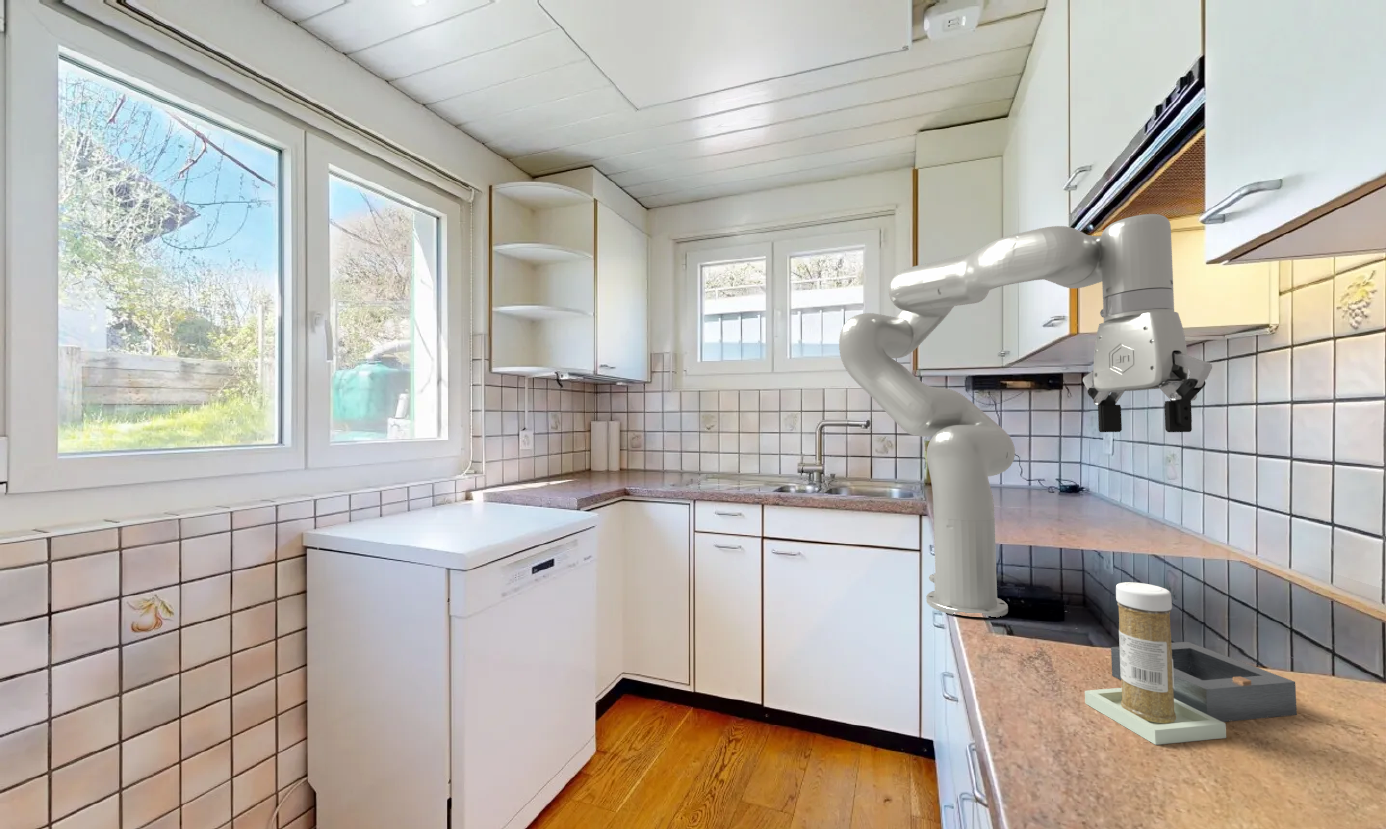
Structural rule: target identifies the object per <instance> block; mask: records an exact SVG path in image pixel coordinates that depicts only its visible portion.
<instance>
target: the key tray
mask: <svg viewBox="0 0 1386 829" xmlns="http://www.w3.org/2000/svg"><path fill="white" fill-rule="evenodd" d="M1121 701H1122V687H1116V688H1115V687H1113V688H1100V689H1092V690H1091V689H1088V690H1084V704H1086V705H1087V706H1089V707H1090V708H1092V709H1094V710H1096V711H1097V712H1099V713H1100V714H1102V715H1104V716H1106V717H1108V718H1109V719H1111V720H1112V721H1114V722H1116V723H1117V724H1119V725H1121V726H1123V727H1124V728H1126V729H1128V730H1130V731H1131V732H1133V733H1135V734H1136V735H1138V736H1139V737H1141V738H1143V739H1145V740H1146V741H1148V742H1151V743H1152V744H1154V745H1167V744H1168V745H1169V744H1176V743H1177V744H1178V743H1189V742H1198V741H1207V740H1208V741H1209V740H1217V739H1227V729H1226V728H1227V725H1226V723H1227V722H1221V721H1219V720H1217V719H1215V718H1213V717H1211V716H1209V715H1207V714H1205V713H1203V712H1201V711H1199V710H1197V709H1195V708H1193V707H1191V706H1188V705H1186V704H1184V703H1182V702H1180V701H1178V700H1176V699H1174V711H1175V714H1176V720H1175V721H1174V722H1172V723H1165V724H1163V723H1155V722H1150V721H1146V720H1144V719H1142V718H1140V717H1139V716H1137V715H1135V714H1133V713H1131V712H1130V711H1128V710H1126V709H1124V708H1122V706H1121Z"/></svg>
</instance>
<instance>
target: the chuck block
mask: <svg viewBox="0 0 1386 829" xmlns="http://www.w3.org/2000/svg"><path fill="white" fill-rule="evenodd" d="M1171 646H1172V649H1171V650H1172V659H1173V669H1174V689H1173V693H1174V699H1176V700H1178V701H1180V702H1182V703H1184V704H1186V705H1188V706H1191V707H1193V708H1195V709H1197V710H1199V711H1201V712H1203V713H1205V714H1207V715H1209V716H1211V717H1213V718H1215V719H1217V720H1219V721H1221V722H1224V723H1228V722H1236V721H1245V720H1259V719H1267V718H1268V719H1270V718H1277V717H1278V718H1279V717H1280V718H1281V717H1289V716H1297V715H1298V714H1297V710H1298V709H1297V694H1296V693H1297V691H1296V690H1297V689H1296V686H1297V685H1296V681H1294V680H1291V679H1289V678H1285V677H1283V676H1281V675H1277V674H1276V673H1273V672H1270V671H1267V670H1265V669H1262V668H1259V667H1256V666H1254V665H1251V664H1249V663H1246V662H1243V661H1240V660H1238V659H1235V658H1233V657H1231V656H1227V655H1225V654H1222V653H1219V652H1217V651H1214V650H1211V649H1208V648H1206V647H1202V646H1201V645H1198V644H1194V643H1192V642H1189V641H1182V642H1181V641H1178V642H1177V641H1176V642H1171ZM1110 655H1111V657H1110V658H1111V660H1110V661H1111V676H1112V677H1114V678H1116V679H1118V680H1120V681H1122V680H1121V673H1120V646H1112V647H1110Z"/></svg>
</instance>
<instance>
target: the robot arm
mask: <svg viewBox="0 0 1386 829" xmlns="http://www.w3.org/2000/svg"><path fill="white" fill-rule="evenodd" d="M1172 245H1173V243H1172V227H1171V222H1170V220H1169V219H1168V218H1167V217H1166V216H1165V215H1162V214H1158V213H1157V214H1156V213H1146V214H1145V213H1144V214H1137V215H1134V216H1130V217H1125V218H1122V219H1119V220H1117V221H1115V222H1112V223H1111V224H1109V225H1108V226H1106V227H1105V228H1104V230H1103V231H1102V233H1101V235H1096V236H1095V235H1088V234H1086V233H1085V232H1082V231H1080V230H1078V229H1076V228H1073V227H1070V226H1064V225H1055V226H1054V225H1053V226H1046V227H1042V228H1041V227H1040V228H1037V229H1031V230H1028V231H1024V232H1019V233H1015V234H1011V235H1007V236H1004V237H1000V238H998V239H995V240H993V241H991V242H990V243H987V244H985V245H984V246H982V247H980V248H978V249H976V250H975V251H974V252H972V253H968V254H967V253H966V254H963V255H959V256H953V257H950V258H946V259H941V260H936V261H931V262H928V263H924V264H919V265H914V266H911V267H907V268H904V269H902V270H901V271H899V272H897V273H896V274H895V275H894V276H893V277H892V279H891V281H890V282H889V286H888V294H889V295H888V296H889V298H890V301H891V303H892V304H893V305H894V306H895V307H896V308H898V309H899V310H900V312H898V313H897V315H896V316H891V315H885V314H879V313H874V312H872V313H871V312H870V313H869V312H868V313H867V312H866V313H860V314H856V315H854V316H852V317H850V318H849V319H847V321H846V322H845V323H844V324H843V327H842V328H841V331H840V333H839V340H838V342H839V343H838V350H839V355H840V360H841V362H842V364H843V367H844V368H845V370H846V371H847V373H848V374H849V376H850V377H851V379H853V380H854V381H855V382H856V383H857V384H858V386H860V388H862V389H863V390H864V391H865V392H866V393H867V394H868V395H869V396H870V397H871V398H872V399H873V400H874V401H875V402H876V404H877V405H878V406H879V407H880V408H881V409H882V410H883V411H884V412H885V413H886V414H887V415H888V416H889V417H890V418H891V419H892V420H893V421H894V422H895V423H896V424H897V425H898V426H899V428H901V429H902V430H903V431H904V432H906V433H907V434H908V435H911V436H915V437H923V438H924V437H931V439H930V440H929V442H928V444H927V445H928V446H927V447H926V461H927V468H928V472H929V477H930V483H931V492H932V506H933V507H932V510H933V527H934V528H933V534H934V535H933V536H934V571H935V572H934V573H933V574H930V575H929V576H928V579H929V581H930V582H931V583H934V590H933V591H930V592H928V593H927V594H926V595H925V596H926V598H925V599H926V603H927V605H929V607H931V608H932V609H934V610H936V611H939V612H942V613H945V614H947V615H948V614H949V615H953V613H954V612H965V613H983V614H985V615H987V616H991V617H996V618H1001V617H1003V616H1006V615H1007V614H1008V612H1009V606H1008V604H1007V603H1006V602H1005V601H1004V600H1002V599H1001V598H998V590H997V589H998V588H997V586H998V585H997V584H998V583H997V579H998V578H997V551H996V549H997V548H996V519H995V518H996V517H995V504H994V502H995V501H994V496H993V492H992V488H991V484H990V480H989V477H992V476H998V475H1000V474H1002V473H1004V472H1006V471H1007V470H1008V469H1009V468H1011V466H1012V464H1013V462H1014V461H1015V455H1016V448H1015V445H1014V442H1013V439H1012V438H1011V437H1010V435H1009V434H1008V433H1007V432H1006V430H1004V428H1002V427H1001V426H1000V425H999V424H998V423H997V422H996V421H994V420H993V419H992V417H990V416H988V415H987V414H986V413H985V411H983V410H982V409H981V408H979V407H978V406H977V405H976V404H975V403H973V402H972V401H971V400H970V399H968V398H967V397H966V396H965V395H963V394H961V393H960V392H958V391H956V390H954V389H950V388H946V387H935V386H931V385H927V384H926V383H924V382H922V381H921V380H920V379H919V378H917V377H916V376H915V375H913V373H911V371H910V370H909V369H908V368H907V367H905V366H904V365H903V364H902V363H900V362H898V361H897V360H896V359H902V358H904V357H906V356H908V355H910V354H911V353H913V352H914V351H915V350H916V349H917V348H918V347H919V346H920V345H921V344H923V342H924V341H925V340H926V339H927V338H928V337H929V336H930V335H931V333H932V332H933V331H934V330H936V328H937V327H938V326H940V324H941V323H942V322H943V321H944V320H945V319H946V317H947V316H948V315H949V314H950V313H951V311H952V310H953V308H954V307H956V306H965V305H973V304H978V303H980V302H983V300H985V299H986V298H987V296H988V294H989V292H990V291H991V290H994V289H998V288H1000V287H1004V286H1009V285H1014V284H1015V285H1016V284H1019V283H1026V282H1027V283H1028V282H1033V281H1039V280H1040V281H1041V280H1044V281H1048V282H1051V283H1053V284H1056V285H1058V286H1060V287H1063V288H1067V289H1081V288H1085V287H1086V288H1087V287H1089V286H1093V285H1095V284H1099V283H1101V284H1102V309H1101V310H1100V312H1099V314H1100V317H1101V318H1103V322H1102V323H1099V325H1098V328H1097V332H1096V336H1095V343H1094V352H1093V370H1092V371H1090V372H1089V373H1088V374H1086V375H1084V376H1083V378H1082V382H1083V384H1084V387H1085V388H1086V390H1087V394H1088V396H1089V397H1090V398H1091V399H1092V400H1093V404H1094V405H1095V406H1097V415H1098V417H1097V419H1098V422H1097V423H1098V431H1099V433H1120V432H1121V431H1122V430H1123V426H1122V425H1123V423H1122V407H1121V404H1117V402H1119V401H1120V399H1121V397H1123V396H1122V395H1123V394H1124V393H1125V392H1133V391H1147V390H1159V389H1160V390H1161V391H1162V393H1163V394H1164V395H1165V396H1166V397H1167V398H1168V399H1169V400H1167V401H1164V403H1163V404H1164V405H1163V406H1164V409H1163V410H1164V428H1165V431H1166V432H1167V433H1191V432H1192V430H1193V426H1192V425H1193V423H1192V422H1193V418H1192V402H1193V401H1196V400H1197V398H1198V394H1199V392H1201V390H1202V389H1203V388H1205V386H1206V384H1207V382H1206V380H1208V378H1209V375H1210V373H1211V371H1212V370H1213V364H1212V363H1210V362H1207V361H1205V360H1202V359H1199V358H1195V356H1194V357H1193V356H1190V355H1189V354H1188V349H1187V347H1188V346H1187V342H1186V336H1185V331H1184V328H1183V324H1182V321H1181V318H1180V315H1179V312H1177V311H1175V299H1174V298H1175V297H1174V274H1173V272H1174V271H1173V270H1174V269H1173V249H1172ZM953 616H954V615H953ZM1000 616H1001V617H1000Z"/></svg>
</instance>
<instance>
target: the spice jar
mask: <svg viewBox="0 0 1386 829" xmlns="http://www.w3.org/2000/svg"><path fill="white" fill-rule="evenodd" d="M1115 598H1116V599H1115V600H1116V602H1117V603H1116V604H1117V606H1118V618H1119V619H1118V622H1119V623H1118V638H1119V641H1118V642H1119V644H1118V645H1119V647H1120V673H1121V680H1120V681H1121V688H1122V701H1121V706H1122V708H1124V709H1126V710H1128V711H1130V712H1131V713H1133V714H1135V715H1137V716H1139V717H1140V718H1142V719H1144V720H1146V721H1150V722H1155V723H1163V724H1165V723H1172V722H1174V721H1175V720H1176V714H1175V711H1174V693H1173V689H1174V669H1173V659H1172V650H1171V649H1172V646H1171V643H1172V631H1171V618H1170V616H1171V610H1172V609H1173V604H1172V603H1173V602H1172V601H1173V600H1172V593H1171V591H1170V590H1168V589H1167V588H1164V587H1161V586H1159V585H1154V584H1150V583H1149V584H1148V583H1144V582H1134V581H1133V582H1132V581H1131V582H1128V581H1127V582H1125V581H1124V582H1119V583H1117V584H1116V586H1115Z"/></svg>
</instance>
